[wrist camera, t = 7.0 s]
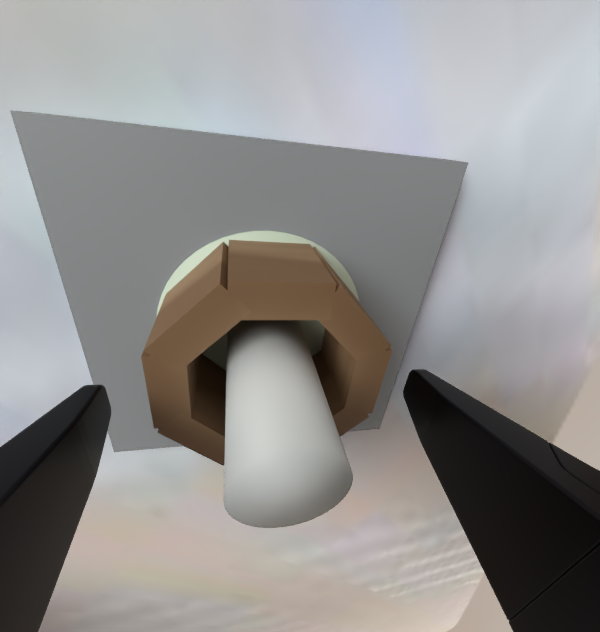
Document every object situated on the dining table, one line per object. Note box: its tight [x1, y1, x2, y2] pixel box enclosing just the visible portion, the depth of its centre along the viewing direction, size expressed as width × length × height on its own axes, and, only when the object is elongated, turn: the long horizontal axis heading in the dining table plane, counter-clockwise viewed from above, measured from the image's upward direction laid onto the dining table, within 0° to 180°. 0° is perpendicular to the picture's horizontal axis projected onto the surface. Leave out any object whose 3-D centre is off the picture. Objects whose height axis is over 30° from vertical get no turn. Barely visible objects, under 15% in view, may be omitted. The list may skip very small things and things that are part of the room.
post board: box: [11, 111, 468, 528], centre depth 9 cm, size 12×12×7 cm
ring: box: [141, 240, 392, 465], centre depth 10 cm, size 6×6×3 cm
